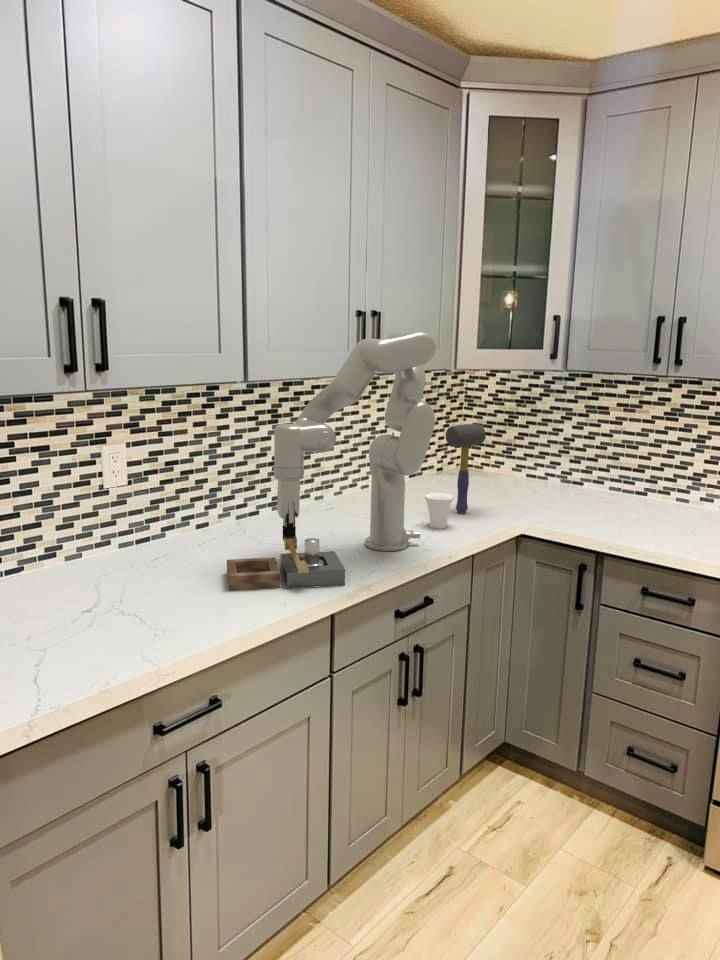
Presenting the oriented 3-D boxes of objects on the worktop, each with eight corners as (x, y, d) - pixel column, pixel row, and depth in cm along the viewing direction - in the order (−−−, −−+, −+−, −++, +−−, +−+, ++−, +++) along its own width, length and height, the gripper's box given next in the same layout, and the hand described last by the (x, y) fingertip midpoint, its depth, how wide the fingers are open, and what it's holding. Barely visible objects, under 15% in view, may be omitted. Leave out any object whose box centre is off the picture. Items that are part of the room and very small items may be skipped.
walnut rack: (274, 570, 181) (274, 557, 180) (280, 587, 170) (280, 573, 169) (226, 573, 179) (226, 559, 178) (229, 590, 167) (228, 576, 166)
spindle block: (334, 565, 186) (334, 551, 185) (345, 585, 172) (345, 569, 171) (280, 568, 182) (280, 553, 182) (287, 588, 169) (287, 572, 168)
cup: (457, 529, 220) (459, 497, 218) (429, 530, 218) (430, 499, 216) (447, 521, 229) (448, 491, 227) (419, 522, 227) (420, 492, 224)
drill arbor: (321, 572, 181) (321, 536, 179) (325, 580, 175) (326, 543, 173) (298, 573, 180) (298, 537, 177) (301, 581, 174) (301, 544, 172)
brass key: (297, 547, 186) (297, 536, 186) (308, 572, 168) (308, 560, 167) (284, 547, 186) (284, 536, 185) (294, 573, 167) (294, 561, 166)
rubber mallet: (454, 517, 233) (459, 426, 227) (440, 512, 239) (444, 423, 233) (482, 512, 240) (488, 424, 233) (468, 507, 246) (472, 421, 240)
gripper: (271, 466, 190) (272, 533, 194) (277, 478, 175) (277, 550, 179) (299, 466, 191) (299, 531, 195) (307, 478, 177) (307, 548, 181)
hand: (289, 540), depth 187 cm, fingers closed
